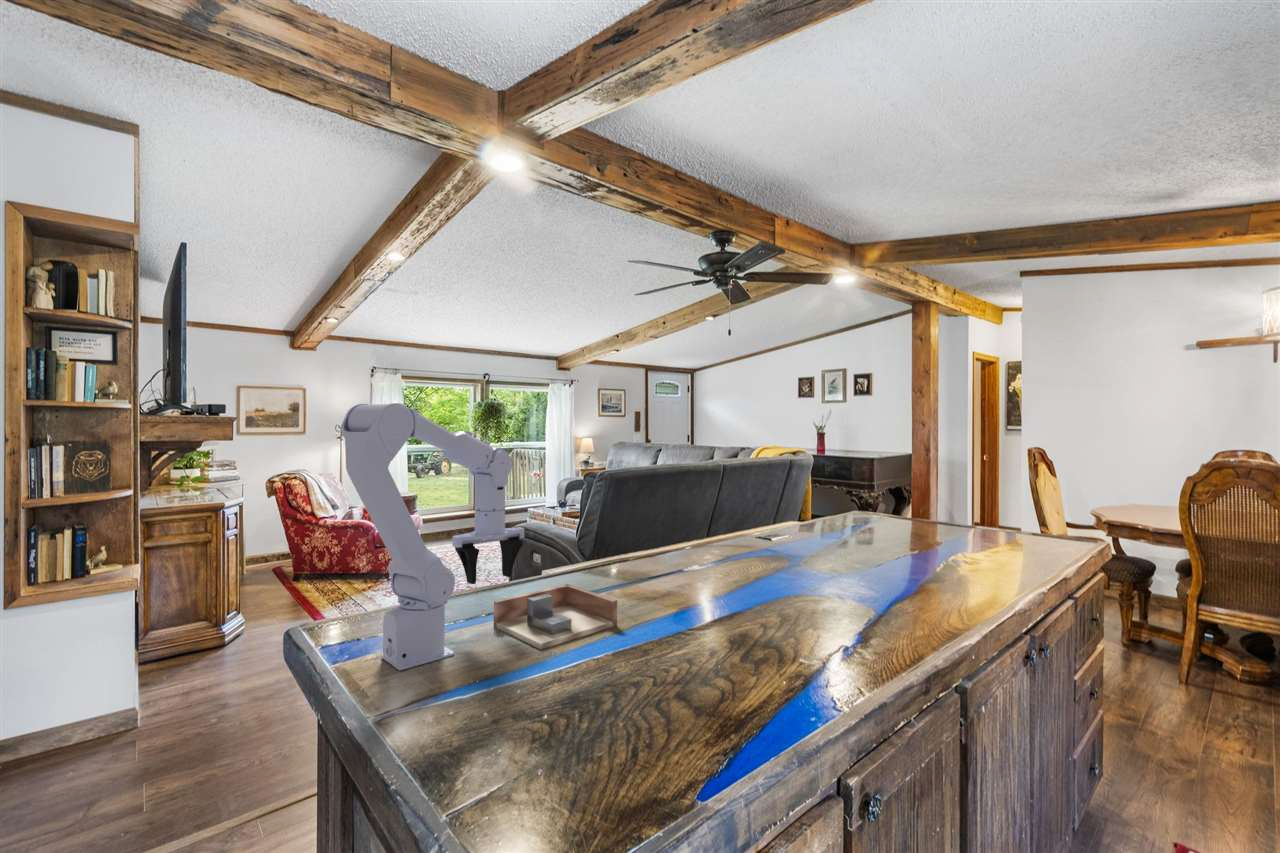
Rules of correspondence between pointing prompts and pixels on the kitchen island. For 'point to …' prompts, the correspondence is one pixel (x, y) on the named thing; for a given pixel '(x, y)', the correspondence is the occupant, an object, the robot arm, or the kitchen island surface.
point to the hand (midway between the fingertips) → (489, 579)
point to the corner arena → (568, 601)
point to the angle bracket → (546, 615)
